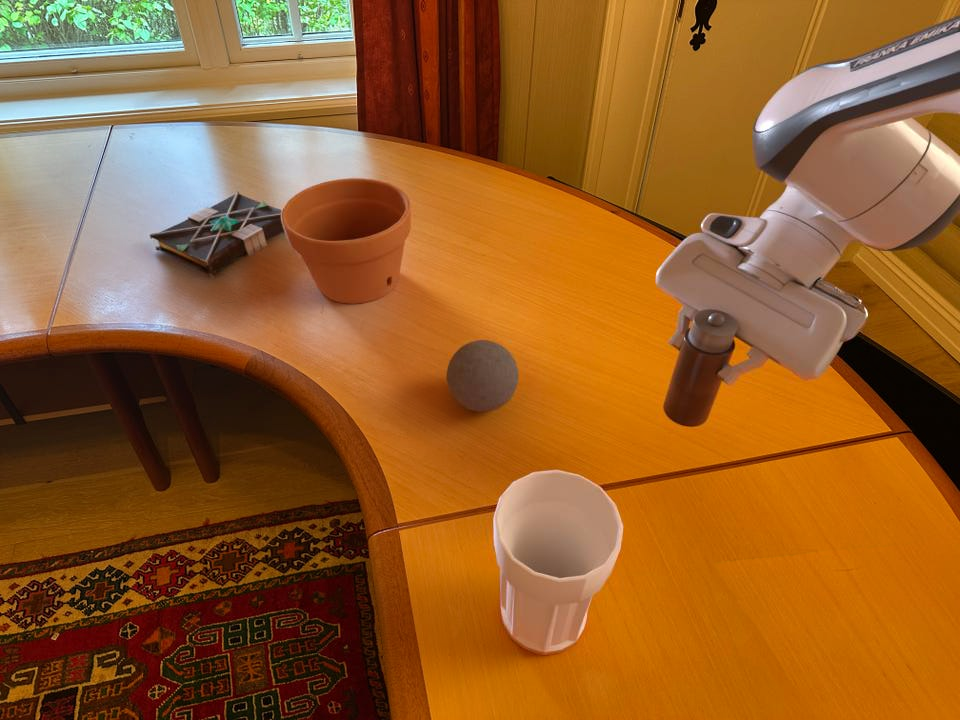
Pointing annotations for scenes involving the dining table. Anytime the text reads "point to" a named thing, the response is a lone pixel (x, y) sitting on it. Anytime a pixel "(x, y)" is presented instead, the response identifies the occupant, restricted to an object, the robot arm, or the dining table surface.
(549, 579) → the cup
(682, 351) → the pepper mill
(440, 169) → the dining table surface
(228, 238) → the book
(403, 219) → the flower pot
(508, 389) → the decorative ball
